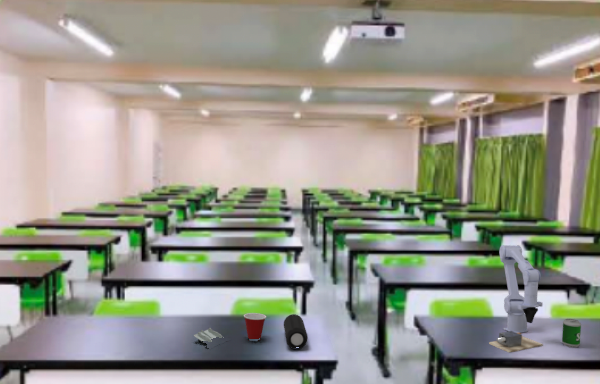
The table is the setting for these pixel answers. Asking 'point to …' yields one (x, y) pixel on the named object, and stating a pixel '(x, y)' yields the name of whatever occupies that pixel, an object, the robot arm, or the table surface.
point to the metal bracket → (207, 335)
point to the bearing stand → (514, 342)
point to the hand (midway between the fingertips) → (529, 322)
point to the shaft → (502, 339)
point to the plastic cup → (254, 324)
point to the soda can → (571, 333)
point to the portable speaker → (295, 331)
